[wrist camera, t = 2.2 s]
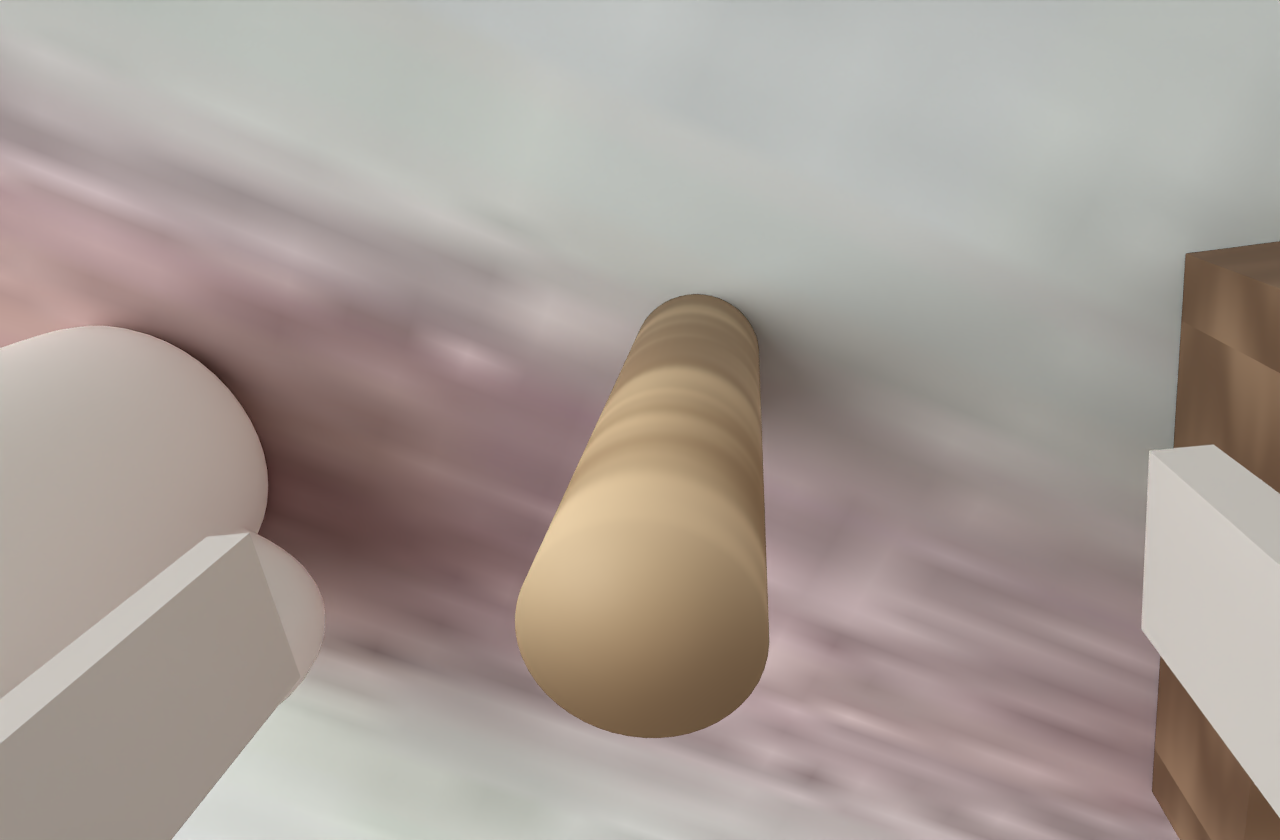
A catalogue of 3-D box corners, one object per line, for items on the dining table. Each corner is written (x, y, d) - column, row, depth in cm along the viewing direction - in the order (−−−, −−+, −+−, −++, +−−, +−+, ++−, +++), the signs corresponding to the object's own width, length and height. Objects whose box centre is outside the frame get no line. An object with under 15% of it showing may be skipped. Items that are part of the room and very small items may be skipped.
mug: (434, 454, 24) (221, 700, 14) (350, 664, 27) (129, 982, 17) (34, 267, 23) (-474, 391, 13) (-4, 504, 26) (-437, 743, 17)
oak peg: (625, 303, 21) (489, 534, 10) (751, 286, 21) (753, 511, 10) (645, 419, 22) (542, 742, 11) (765, 406, 22) (781, 732, 11)
